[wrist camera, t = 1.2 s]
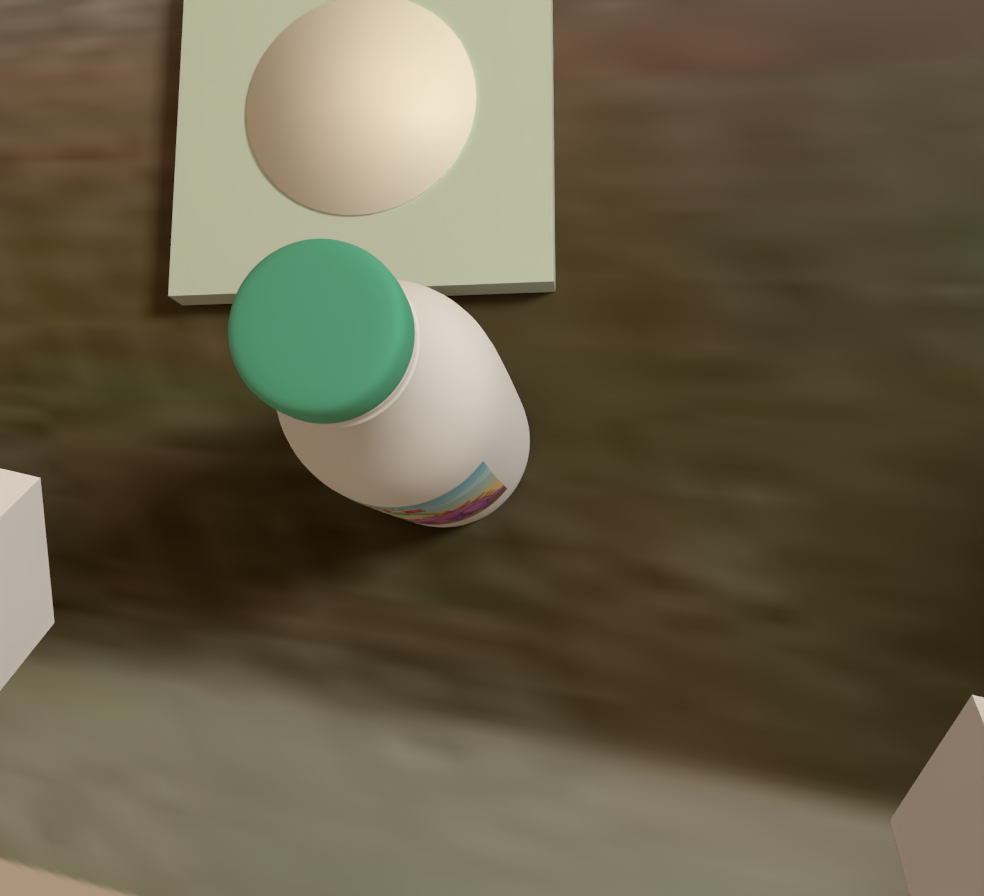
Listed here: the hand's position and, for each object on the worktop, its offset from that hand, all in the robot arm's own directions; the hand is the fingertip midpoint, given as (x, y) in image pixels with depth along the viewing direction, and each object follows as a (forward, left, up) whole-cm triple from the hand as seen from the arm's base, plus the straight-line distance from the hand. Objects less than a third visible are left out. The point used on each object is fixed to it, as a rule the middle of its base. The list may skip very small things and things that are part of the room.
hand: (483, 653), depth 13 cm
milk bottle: (+5, -7, -28) cm, 30 cm away
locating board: (+9, -23, -28) cm, 38 cm away
